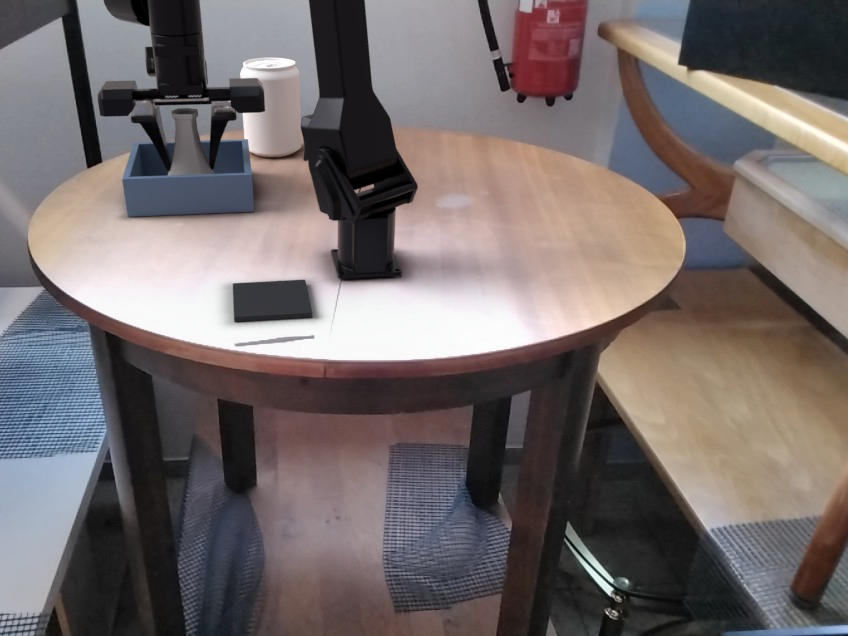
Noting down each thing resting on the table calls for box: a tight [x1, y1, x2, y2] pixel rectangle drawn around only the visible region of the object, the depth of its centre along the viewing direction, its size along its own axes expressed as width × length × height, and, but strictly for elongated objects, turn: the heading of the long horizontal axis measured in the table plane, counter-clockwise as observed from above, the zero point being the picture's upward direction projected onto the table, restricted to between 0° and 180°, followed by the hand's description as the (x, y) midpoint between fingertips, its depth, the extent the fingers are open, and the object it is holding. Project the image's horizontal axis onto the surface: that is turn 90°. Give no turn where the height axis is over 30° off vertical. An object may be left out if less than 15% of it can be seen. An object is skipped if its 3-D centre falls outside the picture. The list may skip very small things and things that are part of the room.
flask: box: [168, 107, 214, 175], centre depth 96 cm, size 7×7×10 cm
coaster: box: [232, 279, 313, 323], centre depth 74 cm, size 7×7×1 cm
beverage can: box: [239, 57, 302, 158], centre depth 111 cm, size 8×8×12 cm
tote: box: [121, 138, 255, 218], centre depth 97 cm, size 15×15×4 cm
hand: (190, 169), depth 97 cm, fingers closed on flask, 5 cm apart
